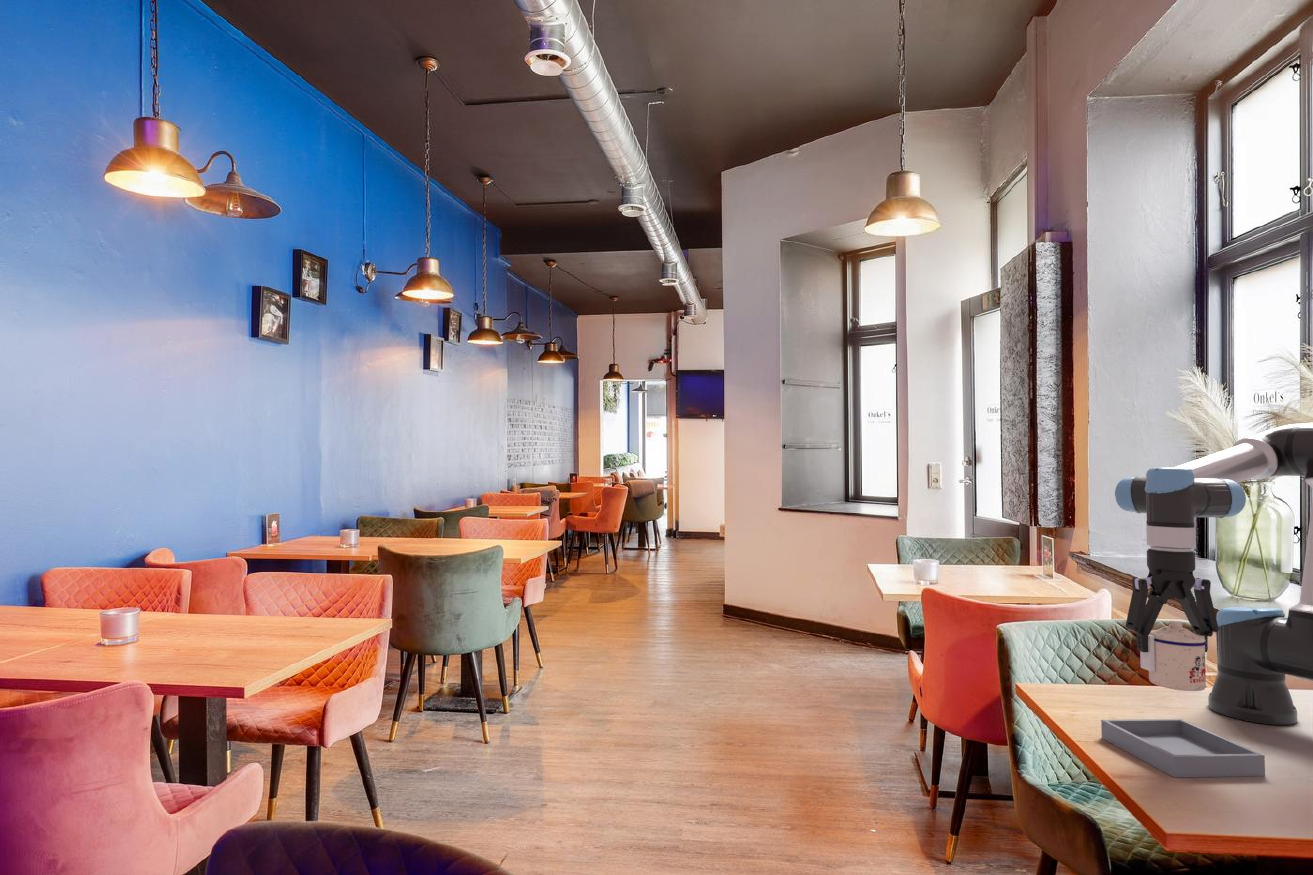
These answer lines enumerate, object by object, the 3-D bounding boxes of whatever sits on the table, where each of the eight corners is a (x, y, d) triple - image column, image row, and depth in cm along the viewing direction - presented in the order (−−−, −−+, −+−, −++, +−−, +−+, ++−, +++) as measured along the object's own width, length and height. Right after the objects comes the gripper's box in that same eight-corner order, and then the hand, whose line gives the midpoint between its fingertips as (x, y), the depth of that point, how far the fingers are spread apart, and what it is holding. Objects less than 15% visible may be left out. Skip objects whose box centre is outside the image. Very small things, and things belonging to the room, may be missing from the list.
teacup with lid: (1202, 695, 129) (1201, 629, 130) (1142, 684, 136) (1141, 621, 136) (1214, 682, 138) (1212, 620, 138) (1157, 672, 144) (1155, 613, 145)
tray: (1181, 736, 145) (1180, 718, 145) (1265, 775, 127) (1264, 755, 127) (1101, 737, 144) (1101, 719, 144) (1174, 777, 126) (1173, 756, 126)
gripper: (1209, 547, 142) (1211, 664, 141) (1101, 546, 141) (1103, 664, 140) (1242, 551, 135) (1245, 675, 134) (1128, 550, 134) (1130, 675, 132)
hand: (1172, 669), depth 137 cm, fingers closed on teacup with lid, 9 cm apart
